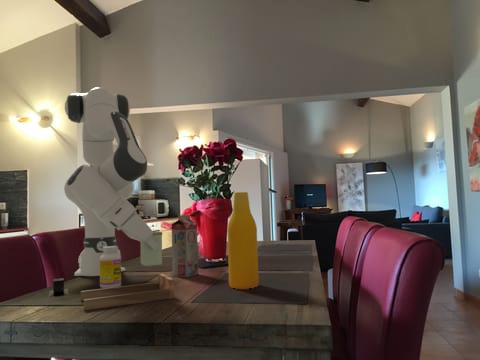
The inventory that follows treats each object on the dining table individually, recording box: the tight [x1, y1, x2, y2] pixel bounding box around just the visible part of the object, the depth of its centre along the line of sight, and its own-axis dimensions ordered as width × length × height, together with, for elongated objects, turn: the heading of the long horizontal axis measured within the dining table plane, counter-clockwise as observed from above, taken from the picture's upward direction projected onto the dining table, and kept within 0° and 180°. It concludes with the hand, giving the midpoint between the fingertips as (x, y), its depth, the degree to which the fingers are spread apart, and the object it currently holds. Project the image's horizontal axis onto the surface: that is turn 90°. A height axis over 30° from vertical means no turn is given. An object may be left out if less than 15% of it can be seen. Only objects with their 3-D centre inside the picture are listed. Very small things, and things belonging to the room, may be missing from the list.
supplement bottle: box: [99, 245, 122, 289], centre depth 125 cm, size 7×7×13 cm
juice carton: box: [171, 214, 199, 278], centre depth 142 cm, size 7×7×22 cm
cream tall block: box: [139, 230, 163, 267], centre depth 110 cm, size 5×5×9 cm
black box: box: [47, 277, 69, 298], centre depth 118 cm, size 12×7×5 cm, turn 24°
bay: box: [80, 272, 175, 311], centre depth 107 cm, size 12×23×5 cm, turn 116°
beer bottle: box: [227, 191, 260, 290], centre depth 119 cm, size 9×9×29 cm
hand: (153, 247), depth 111 cm, fingers closed on cream tall block, 5 cm apart
